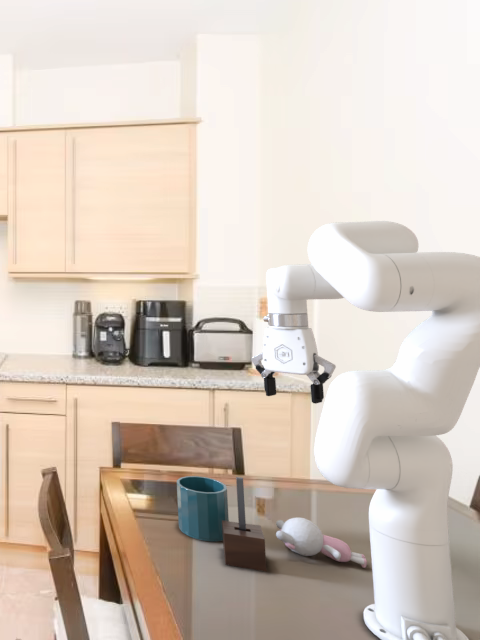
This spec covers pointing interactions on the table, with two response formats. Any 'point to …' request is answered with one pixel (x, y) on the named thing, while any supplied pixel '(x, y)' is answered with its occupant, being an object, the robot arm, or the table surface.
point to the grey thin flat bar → (241, 504)
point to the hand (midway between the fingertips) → (293, 398)
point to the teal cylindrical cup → (202, 507)
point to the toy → (314, 541)
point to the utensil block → (244, 546)
